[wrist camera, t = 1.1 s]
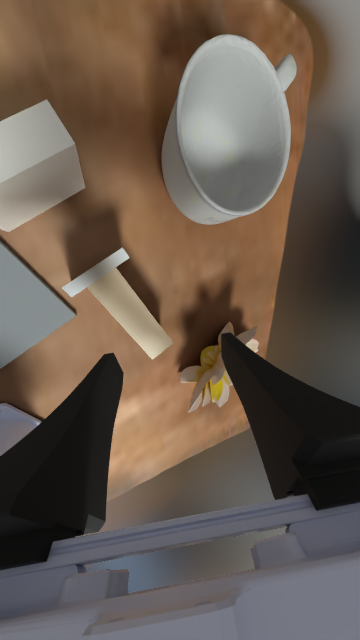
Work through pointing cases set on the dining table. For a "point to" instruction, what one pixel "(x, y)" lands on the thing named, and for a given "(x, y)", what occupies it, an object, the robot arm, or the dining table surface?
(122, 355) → the dining table surface
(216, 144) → the teacup
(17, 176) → the tile
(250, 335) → the decorative flower
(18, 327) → the mat
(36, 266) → the dining table surface
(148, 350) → the pusher
